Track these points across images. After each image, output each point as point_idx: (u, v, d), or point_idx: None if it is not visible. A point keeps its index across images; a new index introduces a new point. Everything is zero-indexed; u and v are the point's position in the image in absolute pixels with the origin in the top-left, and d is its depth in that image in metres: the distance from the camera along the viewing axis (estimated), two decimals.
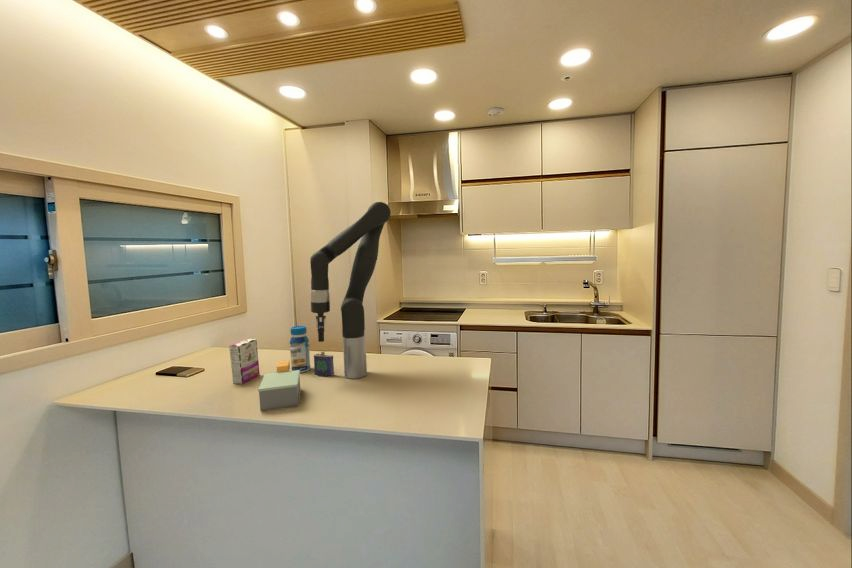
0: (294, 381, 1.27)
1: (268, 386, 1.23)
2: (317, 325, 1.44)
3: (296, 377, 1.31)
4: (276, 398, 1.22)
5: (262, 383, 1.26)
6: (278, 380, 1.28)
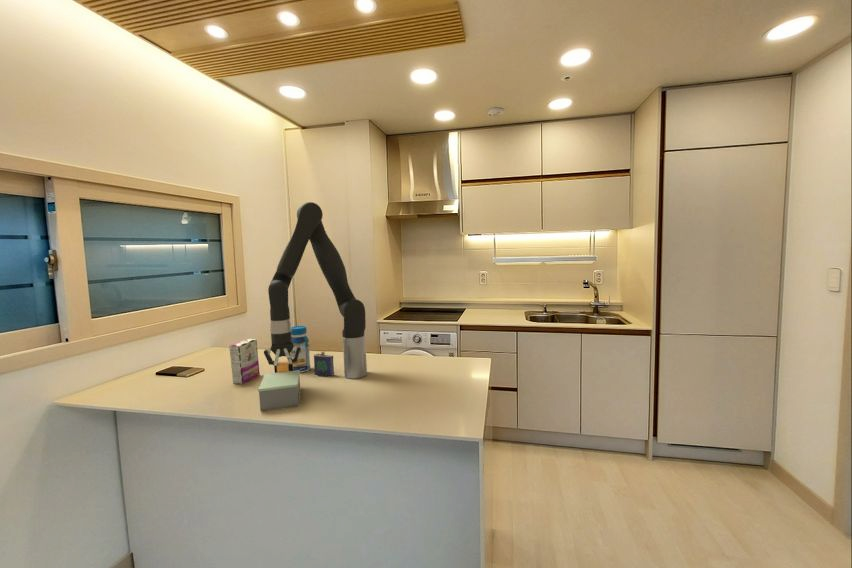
0: (294, 381, 1.27)
1: (268, 386, 1.23)
2: (290, 356, 1.41)
3: (296, 377, 1.31)
4: (276, 398, 1.22)
5: (262, 383, 1.26)
6: (278, 380, 1.28)
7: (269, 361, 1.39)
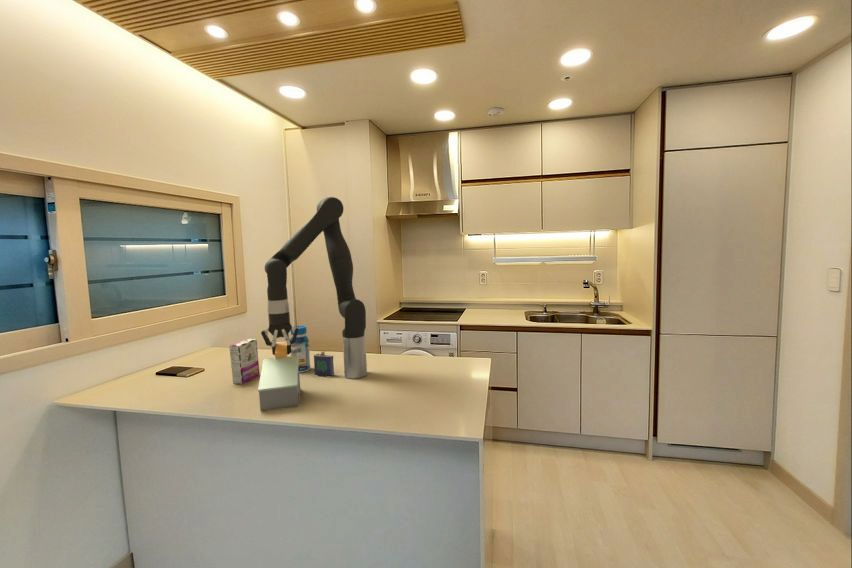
0: (294, 378, 1.26)
1: (268, 385, 1.22)
2: (288, 337, 1.38)
3: (295, 370, 1.30)
4: (276, 398, 1.22)
5: (261, 378, 1.25)
6: (277, 374, 1.27)
7: (267, 342, 1.36)
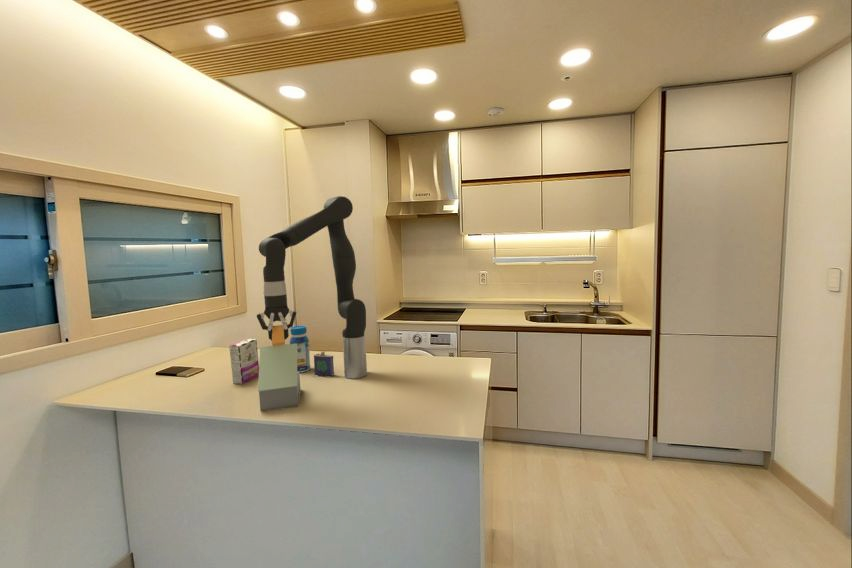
0: (293, 377, 1.25)
1: (267, 385, 1.21)
2: (285, 321, 1.31)
3: (294, 365, 1.27)
4: (276, 398, 1.22)
5: (260, 375, 1.23)
6: (276, 370, 1.25)
7: (262, 326, 1.29)
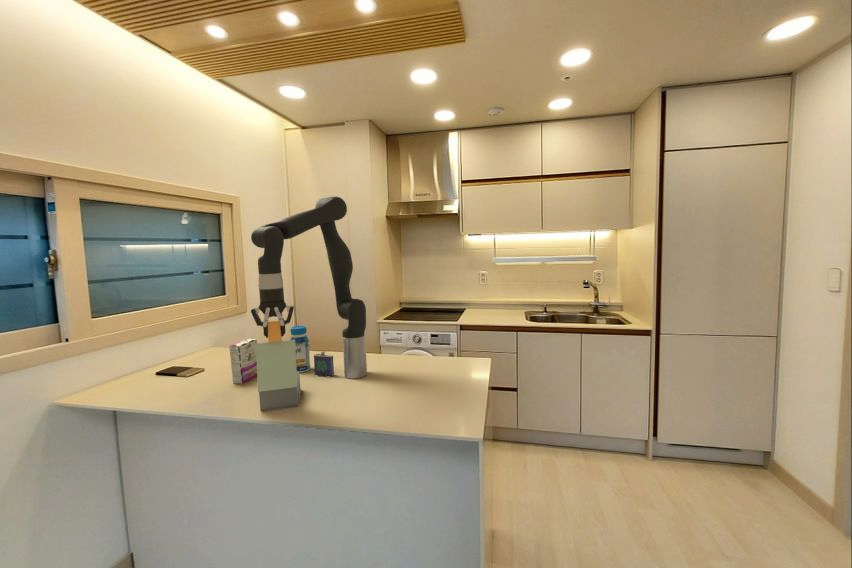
0: (293, 377, 1.23)
1: (267, 386, 1.21)
2: (282, 317, 1.21)
3: (294, 365, 1.24)
4: (276, 398, 1.22)
5: (259, 375, 1.20)
6: (275, 370, 1.22)
7: (257, 322, 1.19)
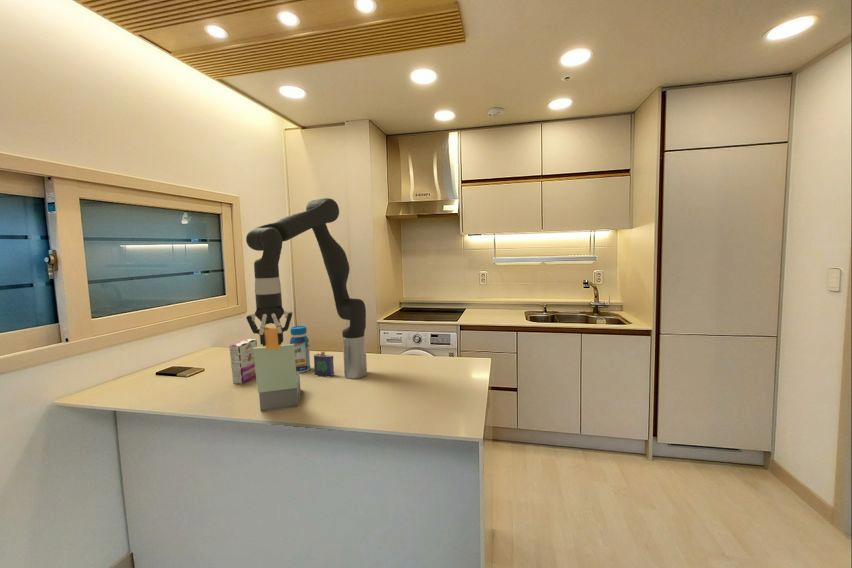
0: (293, 379, 1.22)
1: (267, 387, 1.20)
2: (279, 324, 1.14)
3: (293, 368, 1.21)
4: (276, 398, 1.22)
5: (258, 378, 1.18)
6: (274, 373, 1.20)
7: (253, 329, 1.12)
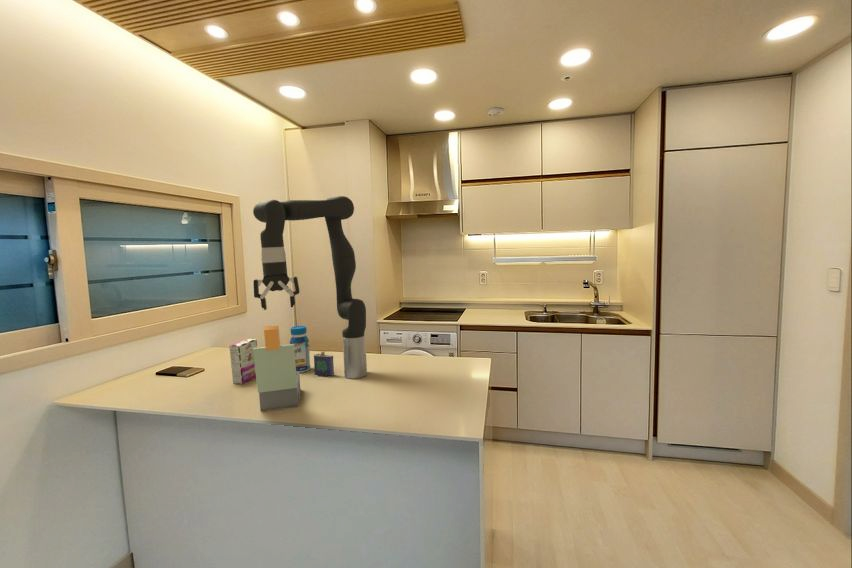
0: (293, 379, 1.22)
1: (267, 387, 1.20)
2: (288, 288, 1.22)
3: (293, 368, 1.21)
4: (276, 398, 1.22)
5: (258, 378, 1.18)
6: (274, 373, 1.20)
7: (254, 293, 1.19)
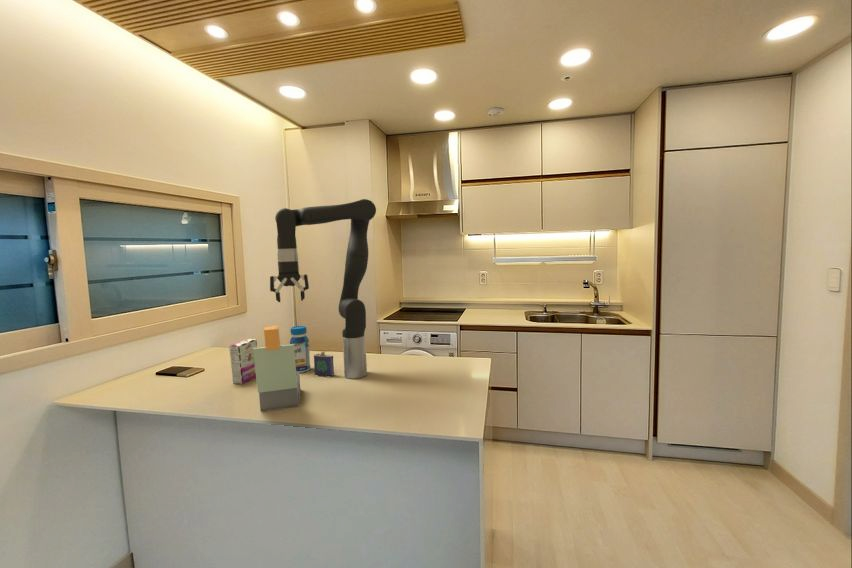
0: (293, 379, 1.22)
1: (267, 387, 1.20)
2: (299, 284, 1.42)
3: (293, 368, 1.21)
4: (276, 398, 1.22)
5: (258, 378, 1.18)
6: (274, 373, 1.20)
7: (270, 288, 1.39)
